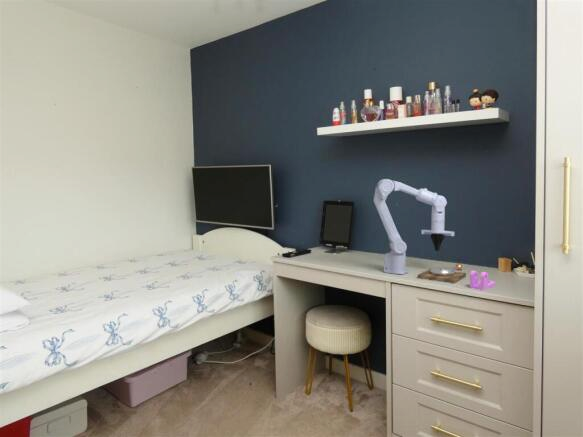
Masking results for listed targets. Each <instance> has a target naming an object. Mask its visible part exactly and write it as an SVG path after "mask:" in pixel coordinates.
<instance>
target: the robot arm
mask: <svg viewBox="0 0 583 437" xmlns="http://www.w3.org/2000/svg"><path fill="white" fill-rule="evenodd" d="M397 191H400V192H403V193H405V194H408V195H411V196H414V197H415V199H416V201H419V202H422V203H424V204H427V205H430V206H431V222H430V223H431V226H430V228H431V229H421V235H430V239H431V241H432V243H433V246H434V251H436V252H439V251H441V250H440V249H441V245H442V243H443V241H444V239H445V237H446V236H448V237H449V236H450V237H455V231H451V230H445V220H446V219H445V218H446V217H445V215H446V210H445V209H446V206H447V204H448V201H447V198H446V197H445V196H443V195H439V194H438V193H437V192H432V191H430V190H428V188H426V187H425V188H419V189H417V188H415V187H412V186H410V185H407V184H406V183H403V182H400V181H396V180H392V179H389V178H383V179H380V180H379V181H378V182H377V184H376V186H375V191H374V195H373V203H374V205H375V208H376V210H377V212H378V214H379V218H380V219H381V222H382V224H383V227H384V229H385V231H386V234H387V236H388V240H389V248H390V251H389V252H387V253H385V255H384V256H383V257H384V258H383V261H384V262H383V273H388V274H394V275H404V274H407V273H409V271H410V270H406V269H407V268H406V265H407V264H406V262H407V260H406V258H407V256H406V255H407V254H406V253H407V252H406V251H407V247H408V246H407V243H406V242H405V241H403V239H402V237H401V236H400V234H399V231H398V230H397V226H396V225H395V223H394V220H393V217H392V215H391V213H390V210H389V208H388V206H387V203H386V200H387V198H388V195H390V194H391V193H392V192H397Z"/></svg>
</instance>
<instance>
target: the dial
mask: <svg viewBox="0 0 583 437" xmlns="http://www.w3.org/2000/svg"><path fill="white" fill-rule="evenodd" d="M429 269H430V273H431V274H433V275H438V276H452V275H454V272H455V271H457V272H460V271H463V264H460V263H459V264H458V263H455V266H443V265H442V266H439V267H438V266H436V267H434V266H433V267H431V268H429Z"/></svg>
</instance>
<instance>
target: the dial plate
mask: <svg viewBox="0 0 583 437" xmlns="http://www.w3.org/2000/svg"><path fill="white" fill-rule="evenodd" d="M466 273H467V272H460V271H454V275H452V276H438V275H433V274H431V273H430V268H429V269H427V270H425V271H423V272H421V273H419V274H417V279H419V280H420V279H421V280H427V279H428V280H429V281H435V280H436V281H435V282H442V281H443V282H444V283H450V282H451V283H452V284H456V283H458V282H460V281H461V280H463V279H464V278H465V277H466V276H467V274H466ZM428 280H427V281H428Z"/></svg>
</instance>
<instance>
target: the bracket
mask: <svg viewBox="0 0 583 437" xmlns="http://www.w3.org/2000/svg"><path fill="white" fill-rule="evenodd" d="M478 274H479V273H478V271H477V270H471V271H470V272H469V275H470V276H469V288H470V289H473V288H474V289H475V290H479V291H485V290H488V289H491V288H493V287H496V281H494V280H489V273H488V272H486V271H482V272H481V273H480V280H479V281H478V279H479V278H478V276H479V275H478Z"/></svg>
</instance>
